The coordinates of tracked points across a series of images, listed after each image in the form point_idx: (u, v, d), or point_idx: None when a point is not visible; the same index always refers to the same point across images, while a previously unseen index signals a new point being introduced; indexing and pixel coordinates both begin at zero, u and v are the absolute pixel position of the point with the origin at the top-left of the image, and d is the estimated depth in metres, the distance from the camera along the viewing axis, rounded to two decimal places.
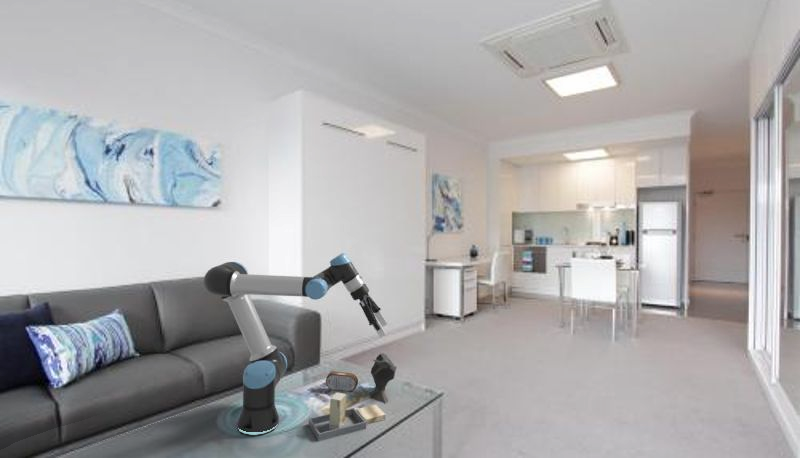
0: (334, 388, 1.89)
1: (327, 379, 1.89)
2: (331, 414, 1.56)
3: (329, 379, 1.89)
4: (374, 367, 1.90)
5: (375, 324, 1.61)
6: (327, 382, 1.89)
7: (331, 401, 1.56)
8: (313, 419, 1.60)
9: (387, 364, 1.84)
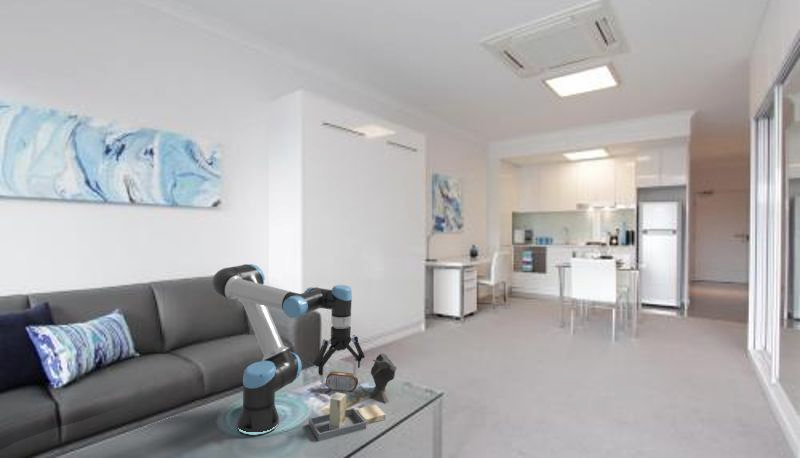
0: (334, 388, 1.89)
1: (327, 379, 1.89)
2: (331, 414, 1.56)
3: (329, 379, 1.89)
4: (374, 367, 1.90)
5: (319, 368, 1.54)
6: (327, 382, 1.89)
7: (331, 401, 1.56)
8: (313, 419, 1.60)
9: (387, 364, 1.84)
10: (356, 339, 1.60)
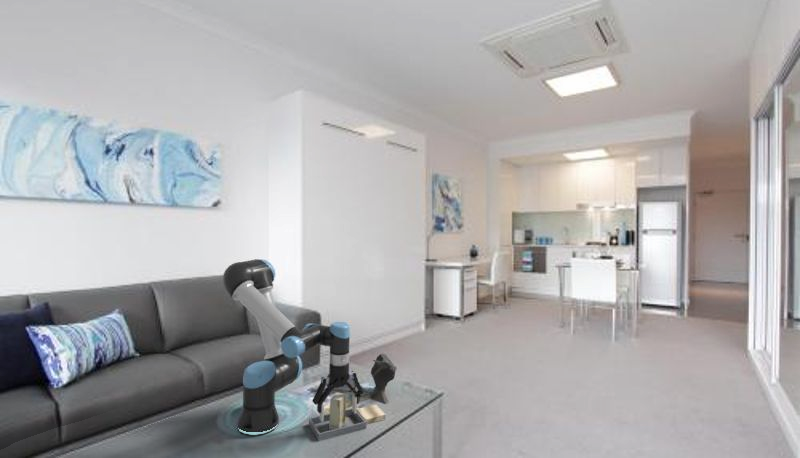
0: (334, 388, 1.89)
1: None
2: (331, 414, 1.56)
3: None
4: (374, 367, 1.89)
5: (318, 405, 1.54)
6: (327, 382, 1.89)
7: (331, 401, 1.56)
8: (313, 419, 1.60)
9: (387, 364, 1.84)
10: (355, 375, 1.60)
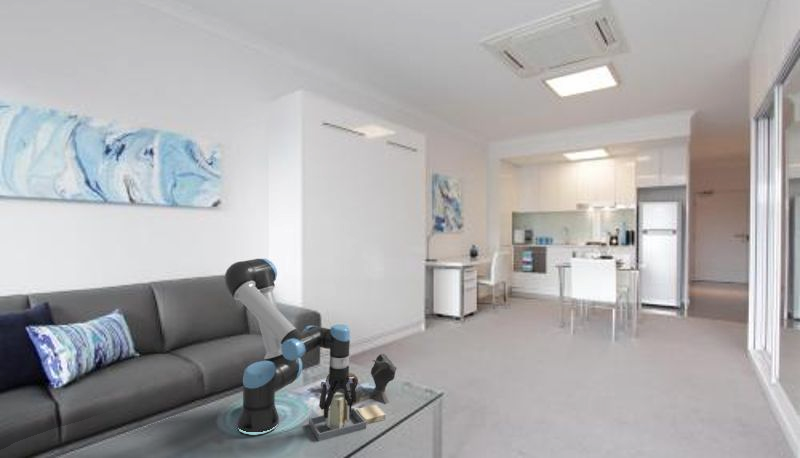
0: None
1: (327, 379, 1.89)
2: (331, 414, 1.56)
3: None
4: (374, 368, 1.89)
5: (324, 411, 1.56)
6: None
7: (331, 401, 1.56)
8: (313, 419, 1.60)
9: (387, 365, 1.83)
10: (354, 381, 1.60)
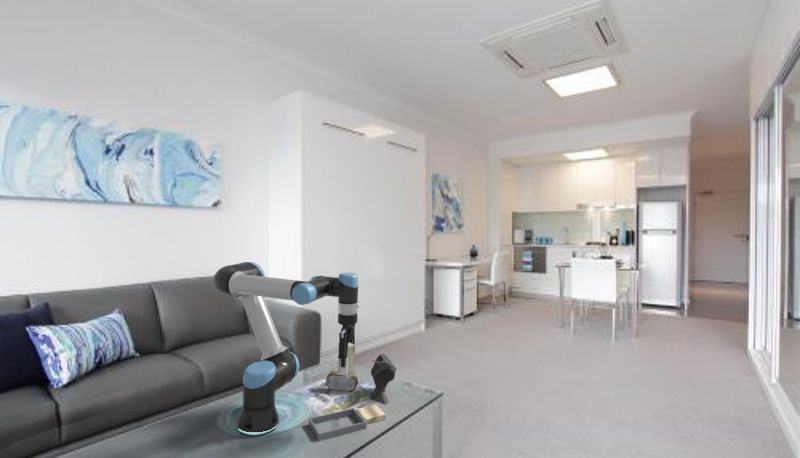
0: (334, 388, 1.89)
1: (327, 379, 1.89)
2: None
3: (329, 379, 1.89)
4: (374, 368, 1.89)
5: (343, 360, 1.54)
6: (327, 382, 1.89)
7: None
8: (313, 419, 1.60)
9: (387, 365, 1.83)
10: (354, 326, 1.65)
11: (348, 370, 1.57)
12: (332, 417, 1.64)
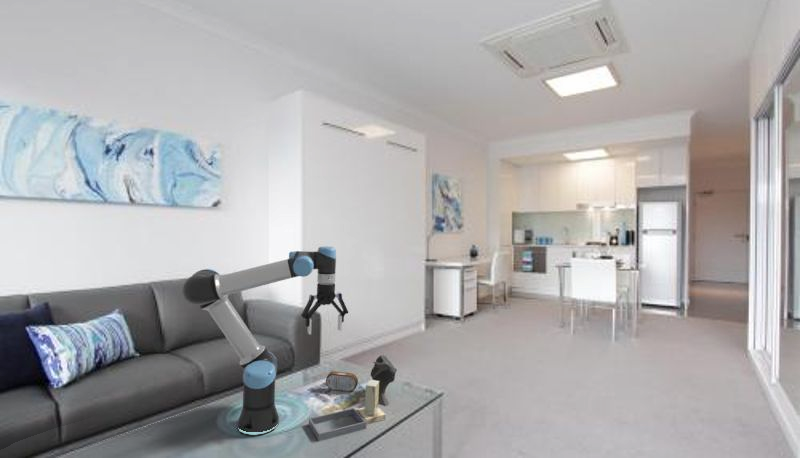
0: (334, 388, 1.89)
1: (327, 379, 1.89)
2: (367, 399, 1.65)
3: (329, 379, 1.89)
4: (374, 369, 1.87)
5: (306, 320, 1.71)
6: (327, 382, 1.89)
7: (366, 387, 1.65)
8: (313, 419, 1.60)
9: (387, 366, 1.82)
10: (340, 295, 1.76)
11: (367, 408, 1.65)
12: (332, 417, 1.64)
